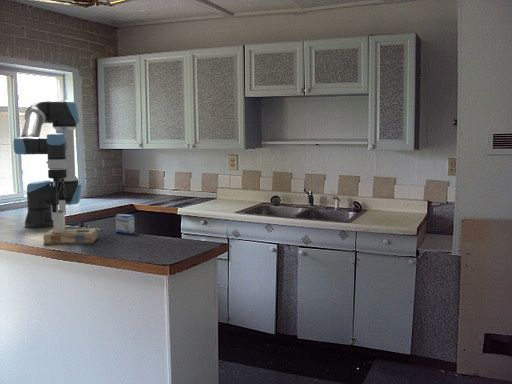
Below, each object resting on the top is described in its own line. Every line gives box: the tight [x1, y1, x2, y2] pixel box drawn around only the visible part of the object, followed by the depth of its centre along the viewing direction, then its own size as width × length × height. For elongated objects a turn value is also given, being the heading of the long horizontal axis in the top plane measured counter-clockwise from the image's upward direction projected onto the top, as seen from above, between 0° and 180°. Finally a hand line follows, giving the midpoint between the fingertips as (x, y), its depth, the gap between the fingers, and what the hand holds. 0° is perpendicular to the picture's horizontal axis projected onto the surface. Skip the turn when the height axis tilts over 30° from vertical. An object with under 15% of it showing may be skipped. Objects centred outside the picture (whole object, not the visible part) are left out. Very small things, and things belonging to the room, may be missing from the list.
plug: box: [52, 209, 66, 233], centre depth 233 cm, size 4×4×13 cm
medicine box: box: [115, 213, 135, 234], centre depth 256 cm, size 8×4×9 cm, turn 70°
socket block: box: [43, 227, 98, 246], centre depth 234 cm, size 14×20×5 cm
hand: (59, 217), depth 233 cm, fingers open, 13 cm apart
